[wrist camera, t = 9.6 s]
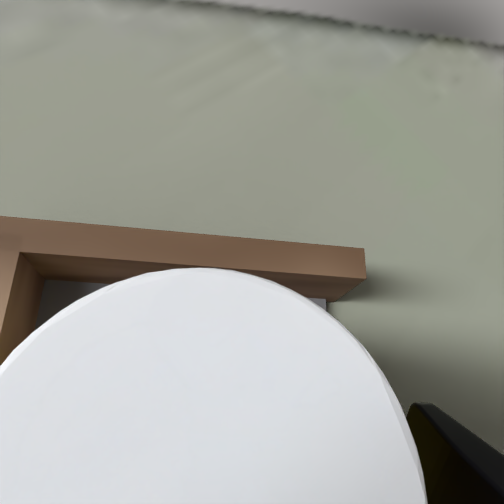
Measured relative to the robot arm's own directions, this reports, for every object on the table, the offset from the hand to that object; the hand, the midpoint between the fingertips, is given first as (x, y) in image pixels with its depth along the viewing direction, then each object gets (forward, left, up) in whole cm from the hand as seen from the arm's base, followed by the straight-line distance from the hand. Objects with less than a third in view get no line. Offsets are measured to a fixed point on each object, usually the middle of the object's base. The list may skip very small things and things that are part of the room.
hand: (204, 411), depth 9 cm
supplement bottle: (-1, +1, -8) cm, 8 cm away
